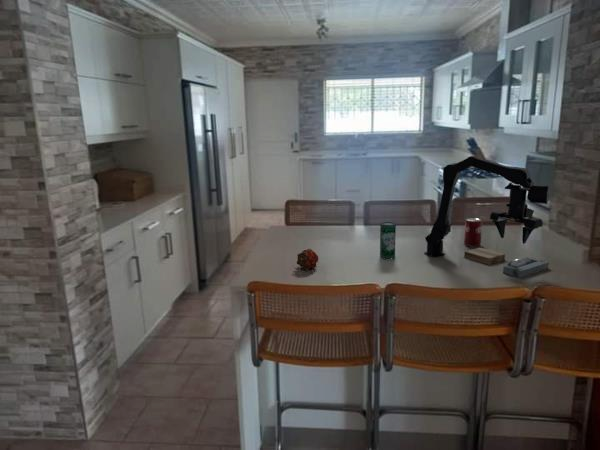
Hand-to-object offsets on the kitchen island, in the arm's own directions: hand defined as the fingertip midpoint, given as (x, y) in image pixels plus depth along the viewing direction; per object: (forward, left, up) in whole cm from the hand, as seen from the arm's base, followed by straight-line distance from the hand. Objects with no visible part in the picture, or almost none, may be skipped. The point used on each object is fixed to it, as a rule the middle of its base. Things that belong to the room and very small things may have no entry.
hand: (512, 240), depth 174 cm
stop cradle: (0, -6, -10) cm, 12 cm away
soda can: (+13, +28, -11) cm, 33 cm away
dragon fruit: (-66, +46, -11) cm, 81 cm away
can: (-31, +37, -11) cm, 50 cm away
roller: (0, -3, -11) cm, 11 cm away
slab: (0, +12, -11) cm, 16 cm away
